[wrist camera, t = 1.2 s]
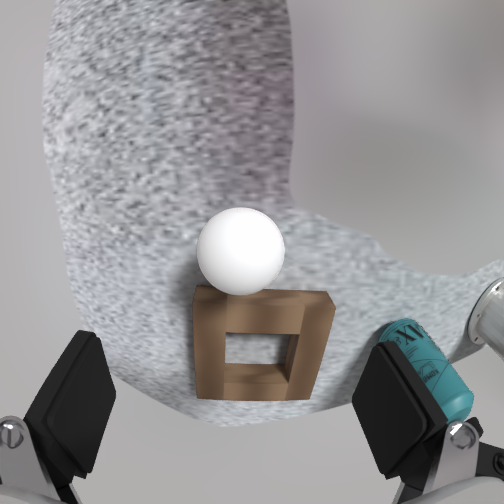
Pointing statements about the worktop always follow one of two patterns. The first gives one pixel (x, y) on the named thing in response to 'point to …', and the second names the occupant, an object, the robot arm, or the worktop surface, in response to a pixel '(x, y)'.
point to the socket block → (263, 322)
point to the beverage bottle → (433, 370)
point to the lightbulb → (240, 251)
